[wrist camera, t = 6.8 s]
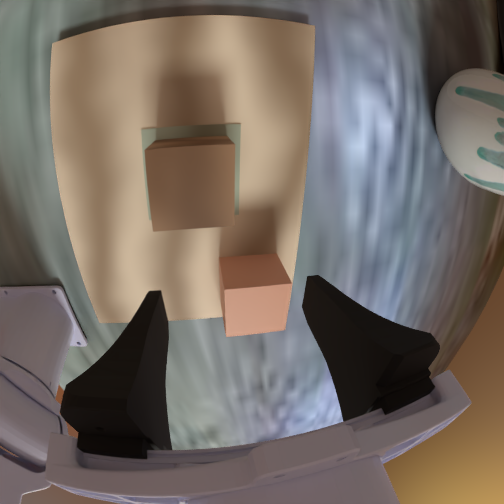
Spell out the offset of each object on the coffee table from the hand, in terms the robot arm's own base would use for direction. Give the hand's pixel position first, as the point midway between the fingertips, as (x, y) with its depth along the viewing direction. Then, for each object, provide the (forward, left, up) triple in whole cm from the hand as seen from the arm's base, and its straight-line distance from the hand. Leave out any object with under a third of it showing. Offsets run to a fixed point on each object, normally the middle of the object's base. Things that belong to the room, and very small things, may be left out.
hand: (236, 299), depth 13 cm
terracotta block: (+2, -5, -8) cm, 9 cm away
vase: (+23, +11, -9) cm, 27 cm away
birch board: (-3, +3, -9) cm, 10 cm away
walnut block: (-2, +4, -8) cm, 9 cm away
